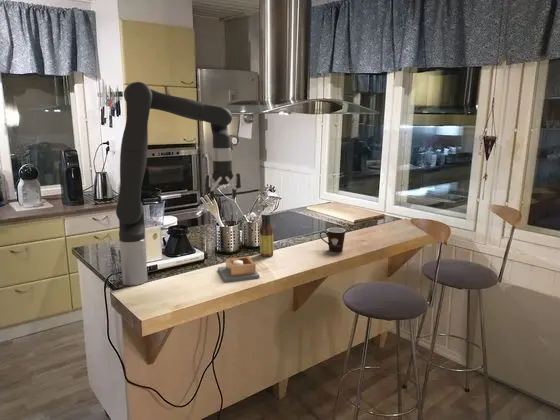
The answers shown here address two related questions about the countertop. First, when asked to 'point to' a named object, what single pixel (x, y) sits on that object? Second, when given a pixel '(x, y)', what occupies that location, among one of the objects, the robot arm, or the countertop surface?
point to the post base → (228, 278)
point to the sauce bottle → (266, 236)
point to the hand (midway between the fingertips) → (223, 199)
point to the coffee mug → (335, 239)
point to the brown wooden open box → (241, 267)
